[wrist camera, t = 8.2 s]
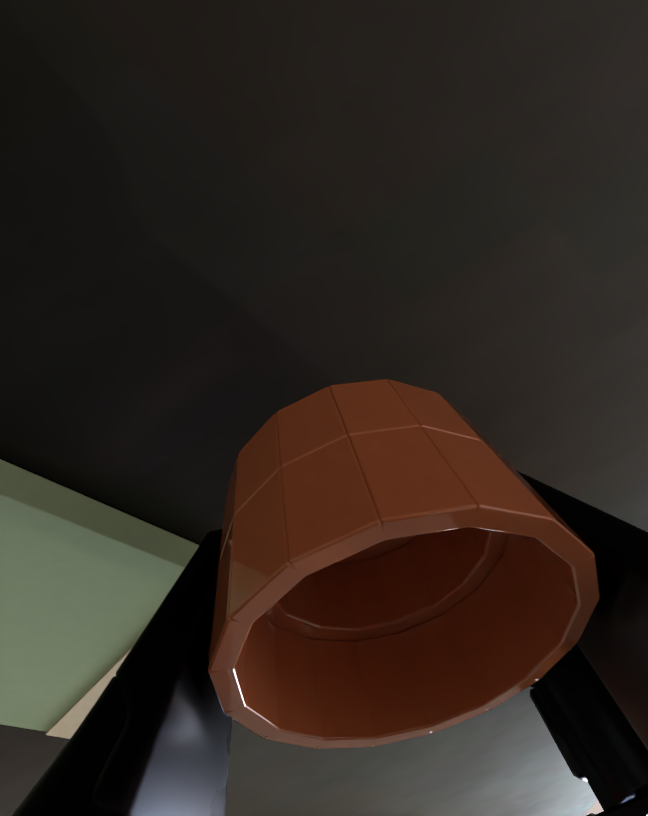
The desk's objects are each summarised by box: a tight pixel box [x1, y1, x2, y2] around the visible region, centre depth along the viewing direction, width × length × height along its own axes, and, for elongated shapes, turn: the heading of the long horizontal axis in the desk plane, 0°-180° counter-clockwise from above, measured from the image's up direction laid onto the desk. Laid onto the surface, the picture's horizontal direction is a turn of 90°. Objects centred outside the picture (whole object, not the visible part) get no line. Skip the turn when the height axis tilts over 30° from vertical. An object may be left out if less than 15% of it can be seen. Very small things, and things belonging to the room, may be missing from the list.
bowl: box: [208, 379, 600, 749], centre depth 8 cm, size 7×7×4 cm
